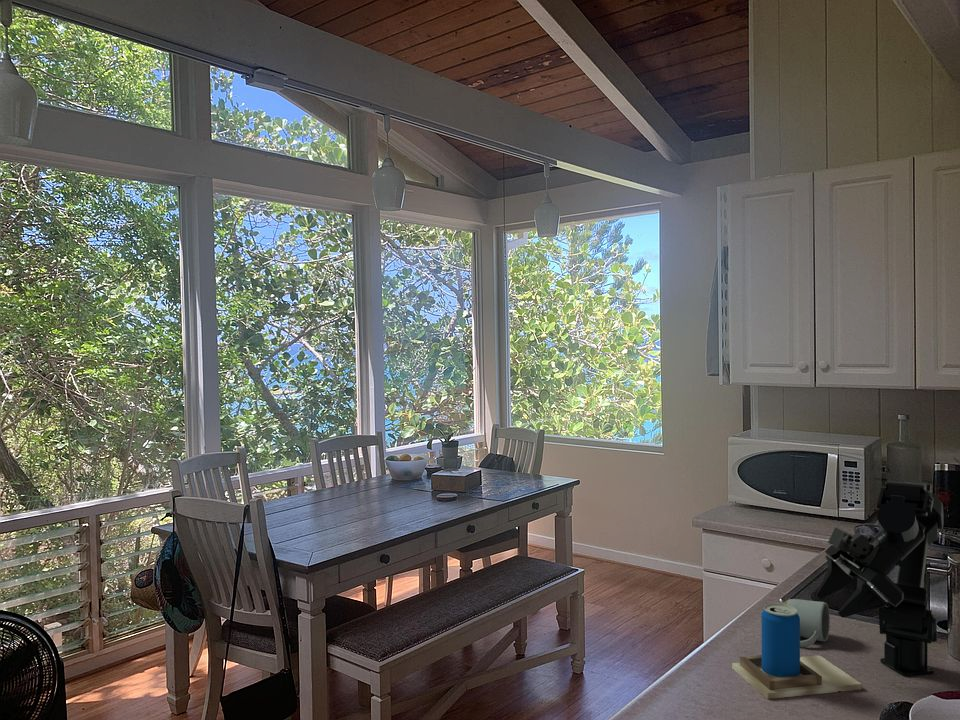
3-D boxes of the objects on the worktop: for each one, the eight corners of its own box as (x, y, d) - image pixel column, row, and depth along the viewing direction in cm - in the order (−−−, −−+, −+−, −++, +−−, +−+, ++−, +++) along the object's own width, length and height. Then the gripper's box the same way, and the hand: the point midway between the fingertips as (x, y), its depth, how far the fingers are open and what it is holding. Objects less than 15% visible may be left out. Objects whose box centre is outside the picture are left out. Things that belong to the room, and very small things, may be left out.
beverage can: (768, 663, 138) (768, 600, 138) (804, 673, 134) (804, 607, 134) (756, 675, 133) (756, 610, 133) (793, 686, 129) (793, 618, 129)
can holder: (818, 660, 142) (819, 647, 141) (861, 689, 130) (861, 675, 130) (732, 668, 138) (732, 655, 138) (767, 698, 127) (767, 684, 127)
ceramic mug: (789, 626, 159) (788, 591, 158) (830, 634, 154) (830, 598, 154) (776, 643, 150) (776, 606, 150) (820, 653, 145) (819, 614, 145)
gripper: (835, 502, 142) (777, 559, 142) (885, 527, 123) (818, 592, 124) (877, 543, 142) (819, 599, 142) (933, 573, 123) (865, 638, 124)
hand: (828, 606), depth 133 cm, fingers open, 9 cm apart
